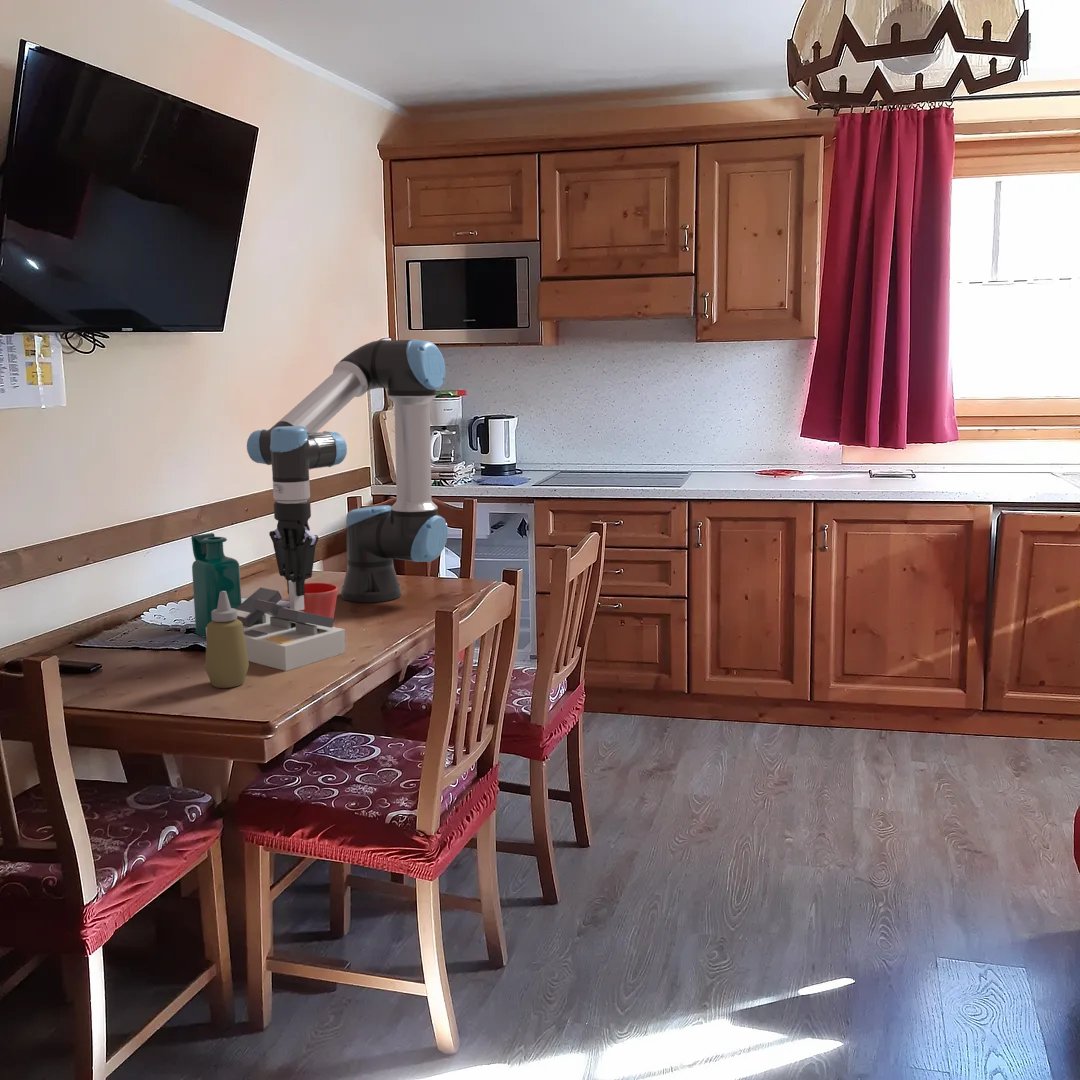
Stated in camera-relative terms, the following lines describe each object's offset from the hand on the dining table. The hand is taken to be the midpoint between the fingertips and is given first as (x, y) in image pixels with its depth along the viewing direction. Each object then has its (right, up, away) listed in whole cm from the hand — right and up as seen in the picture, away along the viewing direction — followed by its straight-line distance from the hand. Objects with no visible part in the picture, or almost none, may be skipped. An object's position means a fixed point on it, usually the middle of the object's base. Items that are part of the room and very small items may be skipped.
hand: (297, 609), depth 226 cm
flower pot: (+1, -6, +14) cm, 15 cm away
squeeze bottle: (-7, -13, -25) cm, 29 cm away
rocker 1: (-9, +1, +1) cm, 9 cm away
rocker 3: (+4, -1, -8) cm, 9 cm away
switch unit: (-4, -9, -3) cm, 10 cm away
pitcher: (-20, -6, +11) cm, 24 cm away
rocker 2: (-3, 0, -4) cm, 5 cm away
